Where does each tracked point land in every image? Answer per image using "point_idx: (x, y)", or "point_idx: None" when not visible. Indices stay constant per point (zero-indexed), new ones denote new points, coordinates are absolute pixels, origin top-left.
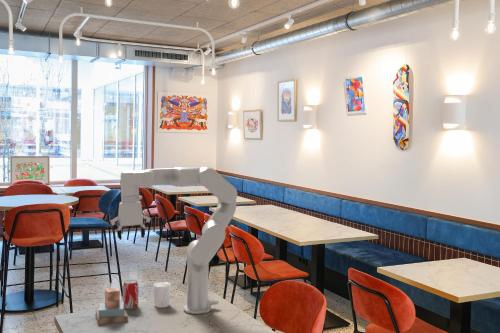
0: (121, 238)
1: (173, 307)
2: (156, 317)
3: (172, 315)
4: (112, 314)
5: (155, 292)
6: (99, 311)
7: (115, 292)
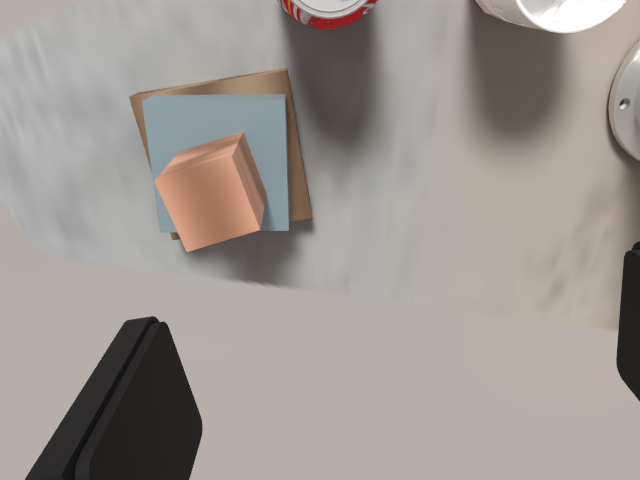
0: (197, 442)
1: None
2: (450, 176)
3: (532, 159)
4: None
5: (500, 4)
6: (166, 229)
7: (234, 234)
